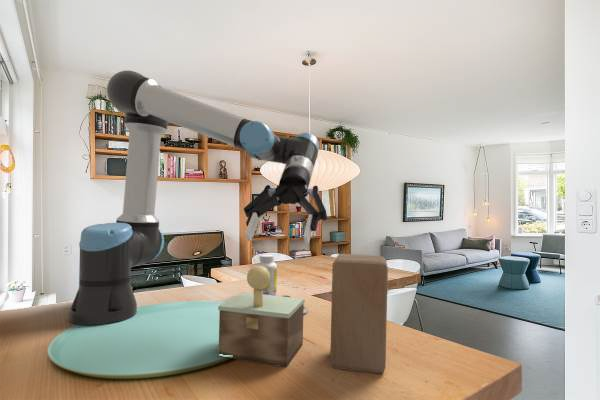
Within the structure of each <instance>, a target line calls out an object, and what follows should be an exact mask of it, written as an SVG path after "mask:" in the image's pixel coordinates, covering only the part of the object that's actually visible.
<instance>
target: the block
mask: <svg viewBox="0 0 600 400" xmlns="http://www.w3.org/2000/svg"><path fill="white" fill-rule="evenodd" d="M331 268H332V270H331V271H332V272H331V274H332V275H331V276H332V278H331V308H330V309H331V310H330V312H331V313H330V314H331V316H330V318H331V319H330V346H329V347H330V349H329V351H330V353H329V354H330V358H329V362H330V365H331V367H332V368H334V369H342V370H343V369H344V370H351V371H356V372H357V371H358V372H367V373H368V372H369V373H376V374H383V373H384V372H385V370H386V360H387V359H386V358H387V357H386V356H387V355H386V353H387V351H386V350H387V320H388V319H387V318H388V314H387V313H388V279H389V278H388V275H389V274H388V273H389V267H388V263H387V259H386V257H384V256H382V255H371V254H356V253H355V254H352V253H350V254H349V253H340V254H337V256H336V258H335V259H334V261H333V262H332V267H331Z"/></svg>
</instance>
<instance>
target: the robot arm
mask: <svg viewBox="0 0 600 400" xmlns="http://www.w3.org/2000/svg"><path fill="white" fill-rule="evenodd" d="M106 92H107V93H106V94H107V95H106V96H107V99H108V100H109V102H110V103H111V105H112V106H113V108H115V109H116V110H117V111H119V112H121V113H122V114H124V127H125V128H126V129H127V130H128V132H129V136H128V149H127V160H126V171H125V182H124V192H123V193H124V196H123V205H122V207H123V208H122V214H121V215H119V216H118V217H117V218H116V219H115V220H116V222H107V223H98V224H93V225H92V224H91V225H89V226H87V227H84V228H83V229H82V231H81V234H80V238H79V239H80V241H79V243H78V246H79V271H78V273H79V275H78V276H79V277H78V279H79V280H78V289H77V292H76V294H75V297H74V300H73V302H72V305H71V308H70V310H69V321H70V322H71V323H73V324H77V325H84V326H85V325H89V326H90V325H91V326H93V325H95V326H96V325H103V324H104V325H105V324H111V323H117V322H121V321H124V320H127V319H129V318H132V317H134V316H135V315H136V314H137V312H138V310H137V309H138V305H137V304H138V303H137V300H136V297H135V295H134V291H133V288H132V285H131V270H132V268H134V267H137V266H143V265H146V264H149V263H150V262H152V261H154V260H156V258H158V256H159V255H160V254H161V253H162V251H163V249H164V245H165V237H164V234H163V232H161V229H160V220H159V219H158V218H157V216H156V215H155V212H156V211H155V210H156V201H157V187H158V178H159V177H158V175H159V164H160V153H161V152H160V151H161V140H162V139H161V138H162V136H163V135H164V134H166V133H167V131H168V130H167V129H168V124H170V123H172V124H174V125H176V126H178V127H182V128H184V129H186V130H189V131H192V132H195V133H198V134H201V135H203V136H206V137H209V138H211V139H214V140H216V141H219V142H221V143H225V144H227V145H230V146H233V147H234V148H237V149H239V150H241V151H245V152H247V156H248V157H249V158H251V159H254V160H258V161H264V162H265V161H266V162H272V163H277V164H283V165H285V166H284V168H283V171H282V173H281V176H280V179H279V182H278V185H277V187H271V185H270V184H267V185H265V187H264V188H263V190H262V191H261V192H260V193H258V195H257V196H255V198H253V199H252V200H251V201H250V202H249V203H248V204H247V205H246V206H245V207H243V211H244V213H245V216H246V217H247V220H246V222H245V226H246V229H245V232H244V234H245V238H246V240H247V242H252V240H253V237H254V234H255V232H256V230H257V228H258V225H259V221H260V220H259V218H260V217H261V216H263V215H264V214H266V213H267V212H269V211H271V210H272V209H273V208H275V207H279V206H281V205H282V204H283V205H287V204H291V205H296V204H298V205H299V206H300V207H301V208H303V209H304V211H305V212H306V214H308V216H307V221H306V224H305V228H304V233H303V235H302V236H303V241H304V244H305V245H309V244H310V241H311V236H312V232H316V231H317V229H318V225H319V221H321V220H323V221H326V220H327V219H328V215H327V210H326V207H325V205H324V203H323V200H322V199H321V197H320V191H319V187H318V185H314V186H312V188H310V187H309V186H310V182H311V180H312V179H311V178H312V176H313V171H314V168H315V165H316V161H317V159H318V156H319V155H318V154H319V148H320V141H319V140H318V138H317V137H316V136H315V135H314V134H311V133H309V132H303V133H299V134H297V136H296V137H295V138H294V137H286V136H282V135H276V133H274V132H273V130H272V128H271V127H269V125H267V124H266V123H263V122H261V121H259V120H250V119H248V118H245V117H243V116H239V115H237V114H235V113H232V112H229V111H226V110H223V109H221V108H218V107H215V106H213V105H209V104H207V103H205V102H202V101H200V100H197V99H193V98H191V97H189V96H185V95H183V94H180V93H178V92H176V91H172V90H170V89H167V88H164V87H162V86H160V85H159V84H158V82H157V81H156V80H154V79H151V78H149V77H147V76H144V75H143V74H142V73H140V72H136V71H133V70H121V71H118V72H117V73H115V74H113V75H112V76H111V77H110V79H109V80H108V82H107V86H106ZM308 195H310V197H311V198H312V199H313V200H314V203H315V205H316V208H317V209H316V208H315V207H314V206H313V205H312V203H310V202H309V200H308V199H307V198H306V197H307V196H308Z"/></svg>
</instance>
